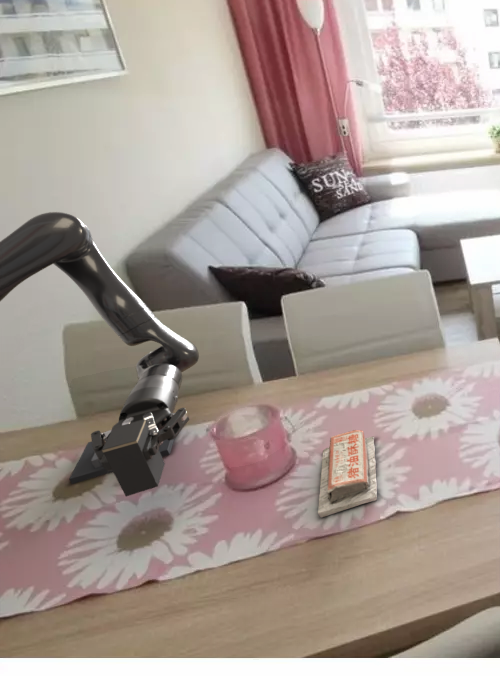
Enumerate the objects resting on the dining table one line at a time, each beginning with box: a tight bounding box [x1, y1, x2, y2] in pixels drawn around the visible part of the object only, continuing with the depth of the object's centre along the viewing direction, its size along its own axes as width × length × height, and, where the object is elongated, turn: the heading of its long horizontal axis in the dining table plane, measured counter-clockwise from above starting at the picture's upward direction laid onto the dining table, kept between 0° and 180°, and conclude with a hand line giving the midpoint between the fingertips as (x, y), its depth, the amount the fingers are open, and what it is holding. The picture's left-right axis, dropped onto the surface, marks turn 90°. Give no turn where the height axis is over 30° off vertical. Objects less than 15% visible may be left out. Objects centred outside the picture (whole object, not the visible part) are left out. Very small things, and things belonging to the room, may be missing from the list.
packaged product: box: [317, 429, 378, 518], centre depth 105 cm, size 18×5×10 cm
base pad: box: [68, 428, 176, 485], centre depth 114 cm, size 16×12×4 cm
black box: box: [102, 419, 166, 497], centre depth 90 cm, size 4×6×10 cm
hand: (128, 460), depth 87 cm, fingers closed on black box, 4 cm apart
